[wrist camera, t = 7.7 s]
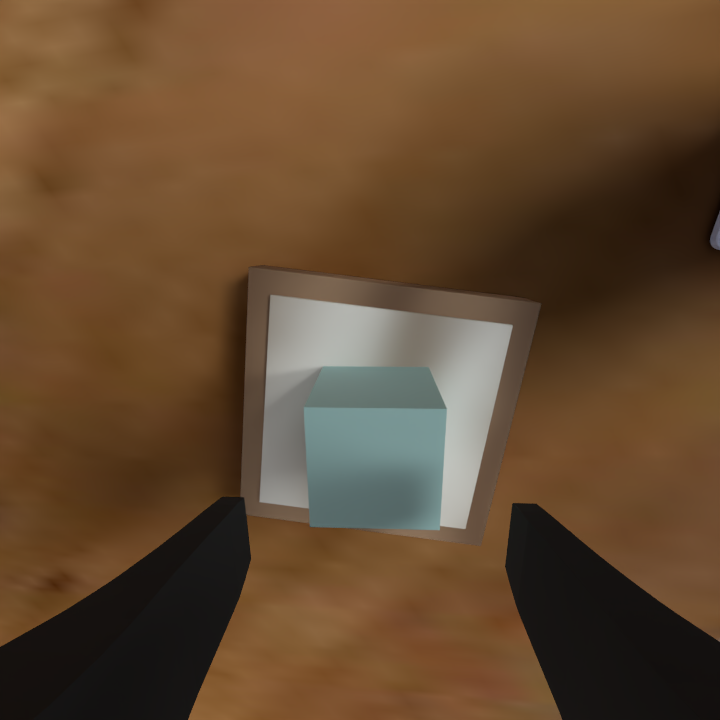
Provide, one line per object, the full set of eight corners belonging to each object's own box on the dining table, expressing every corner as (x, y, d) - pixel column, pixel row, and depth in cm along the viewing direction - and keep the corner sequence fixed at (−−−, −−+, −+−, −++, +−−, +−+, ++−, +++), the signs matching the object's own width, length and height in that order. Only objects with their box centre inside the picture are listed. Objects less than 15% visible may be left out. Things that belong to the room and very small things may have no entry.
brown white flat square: (523, 297, 17) (543, 304, 15) (471, 518, 21) (481, 549, 19) (263, 265, 18) (247, 267, 15) (252, 489, 21) (238, 516, 19)
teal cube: (428, 367, 16) (446, 409, 12) (424, 461, 18) (439, 530, 13) (323, 366, 16) (303, 407, 12) (326, 459, 18) (309, 527, 13)
